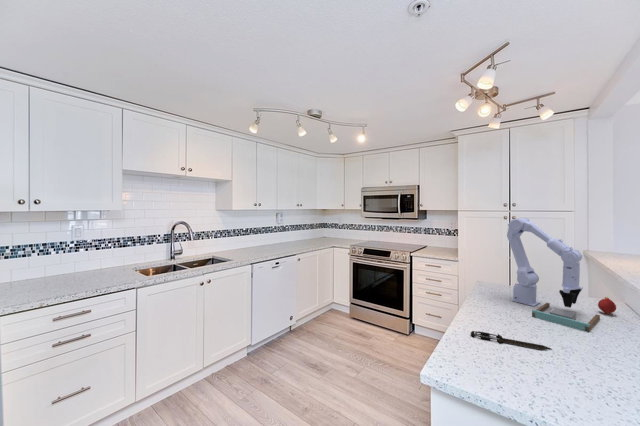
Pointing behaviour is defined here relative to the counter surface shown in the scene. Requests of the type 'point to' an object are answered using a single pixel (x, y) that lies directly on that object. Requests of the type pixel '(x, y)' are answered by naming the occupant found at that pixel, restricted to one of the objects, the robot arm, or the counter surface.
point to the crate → (564, 313)
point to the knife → (508, 341)
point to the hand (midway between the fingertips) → (570, 305)
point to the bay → (564, 319)
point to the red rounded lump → (607, 305)
